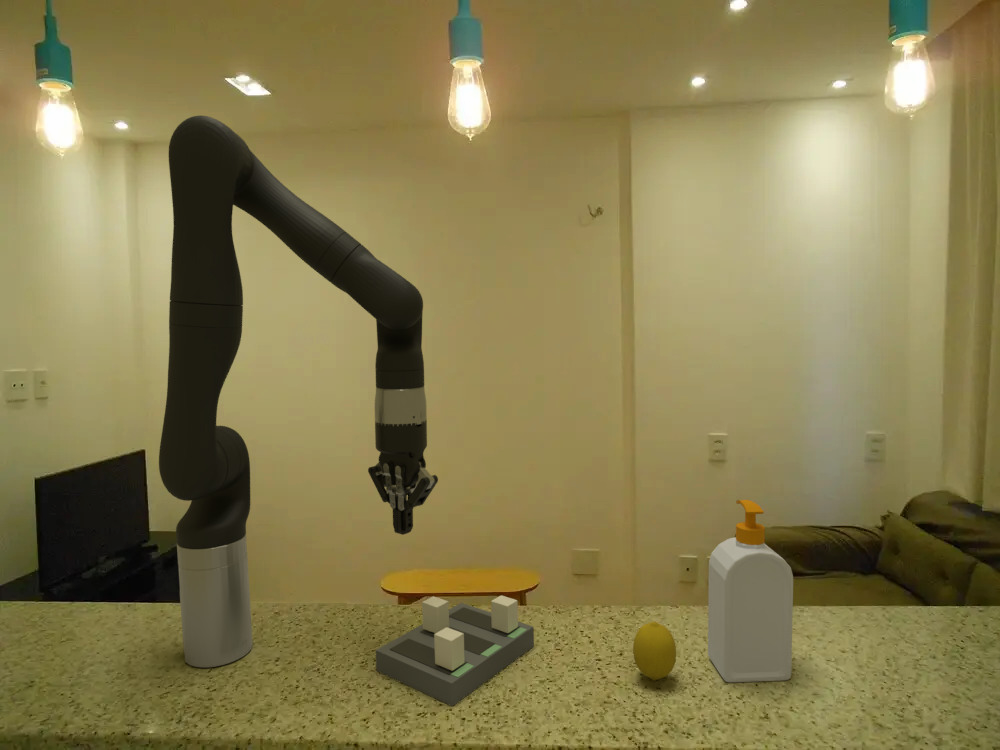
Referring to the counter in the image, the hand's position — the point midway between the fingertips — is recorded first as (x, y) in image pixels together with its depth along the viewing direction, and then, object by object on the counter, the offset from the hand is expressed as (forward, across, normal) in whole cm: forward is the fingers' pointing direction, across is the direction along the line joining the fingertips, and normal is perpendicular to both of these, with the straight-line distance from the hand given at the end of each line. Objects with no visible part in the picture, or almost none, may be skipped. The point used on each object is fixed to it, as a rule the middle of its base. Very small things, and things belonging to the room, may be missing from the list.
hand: (403, 532), depth 97 cm
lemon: (+16, +35, +12) cm, 40 cm away
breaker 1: (+13, +14, -6) cm, 20 cm away
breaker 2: (+13, +14, +6) cm, 20 cm away
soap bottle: (+16, +44, +22) cm, 52 cm away
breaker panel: (+16, +10, 0) cm, 19 cm away
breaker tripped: (+13, +6, 0) cm, 15 cm away
